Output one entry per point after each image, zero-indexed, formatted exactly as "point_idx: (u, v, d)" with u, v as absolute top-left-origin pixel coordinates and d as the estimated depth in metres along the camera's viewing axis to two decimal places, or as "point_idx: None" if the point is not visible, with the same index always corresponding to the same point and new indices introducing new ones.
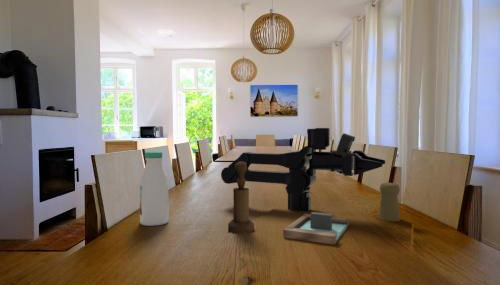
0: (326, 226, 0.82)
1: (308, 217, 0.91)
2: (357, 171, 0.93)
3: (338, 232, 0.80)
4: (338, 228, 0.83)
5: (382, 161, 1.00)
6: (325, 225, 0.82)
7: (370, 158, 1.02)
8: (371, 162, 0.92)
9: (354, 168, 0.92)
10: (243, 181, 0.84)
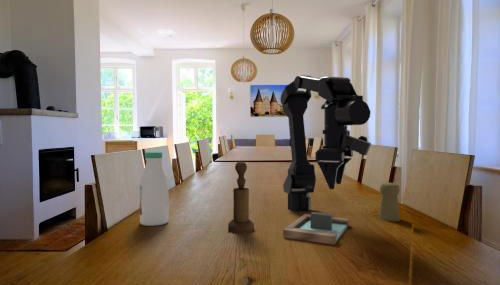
0: (326, 226, 0.82)
1: (308, 217, 0.91)
2: (321, 164, 0.81)
3: (338, 232, 0.80)
4: (338, 228, 0.83)
5: (339, 181, 0.91)
6: (325, 225, 0.82)
7: (342, 168, 0.91)
8: (333, 178, 0.81)
9: (324, 162, 0.80)
10: (243, 181, 0.84)
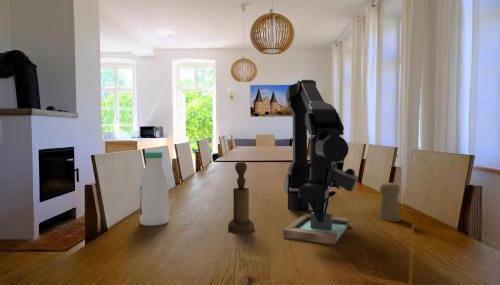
0: (326, 226, 0.82)
1: (308, 217, 0.91)
2: (310, 198, 0.81)
3: (338, 232, 0.80)
4: (338, 228, 0.83)
5: None
6: (325, 225, 0.82)
7: (326, 204, 0.84)
8: (321, 212, 0.81)
9: None
10: (243, 181, 0.84)
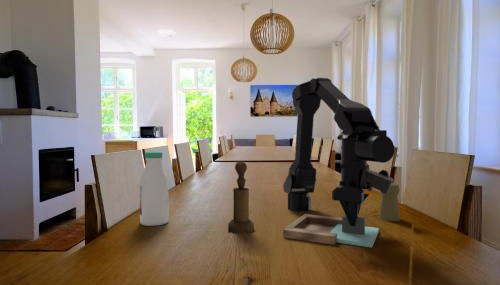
0: (359, 230, 0.78)
1: (308, 217, 0.91)
2: (342, 200, 0.78)
3: (372, 237, 0.76)
4: (371, 232, 0.80)
5: None
6: (358, 229, 0.79)
7: None
8: (354, 215, 0.78)
9: None
10: (243, 181, 0.84)
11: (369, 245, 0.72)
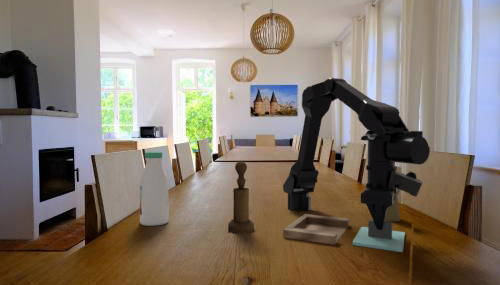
0: (386, 235, 0.76)
1: (308, 217, 0.91)
2: None
3: (401, 242, 0.74)
4: (398, 236, 0.77)
5: None
6: (385, 234, 0.76)
7: None
8: (382, 219, 0.75)
9: None
10: (243, 181, 0.84)
11: (399, 251, 0.69)
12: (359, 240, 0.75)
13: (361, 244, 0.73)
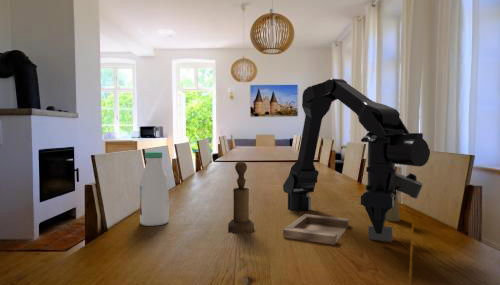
0: (387, 240, 0.76)
1: (308, 217, 0.91)
2: (368, 206, 0.74)
3: None
4: None
5: None
6: (385, 239, 0.76)
7: None
8: (381, 222, 0.74)
9: (372, 205, 0.72)
10: (243, 181, 0.84)
11: None
12: None
13: None
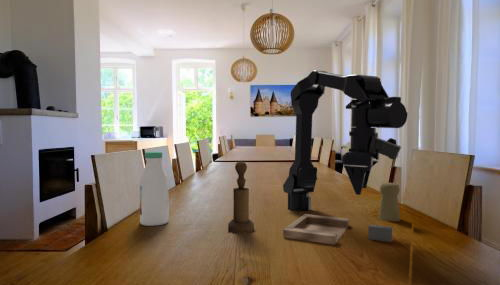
0: (387, 240, 0.76)
1: (308, 217, 0.91)
2: (348, 168, 0.77)
3: None
4: None
5: (364, 185, 0.86)
6: (385, 239, 0.76)
7: (368, 172, 0.86)
8: (360, 184, 0.77)
9: (351, 166, 0.75)
10: (243, 181, 0.84)
11: None
12: None
13: None
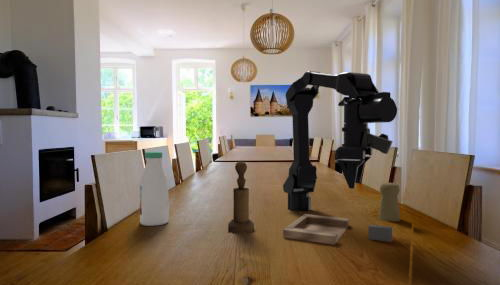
0: (387, 240, 0.76)
1: (308, 217, 0.91)
2: (341, 162, 0.79)
3: None
4: None
5: (358, 180, 0.88)
6: (385, 239, 0.76)
7: (361, 167, 0.88)
8: (353, 177, 0.79)
9: (344, 160, 0.77)
10: (243, 181, 0.84)
11: None
12: None
13: None
